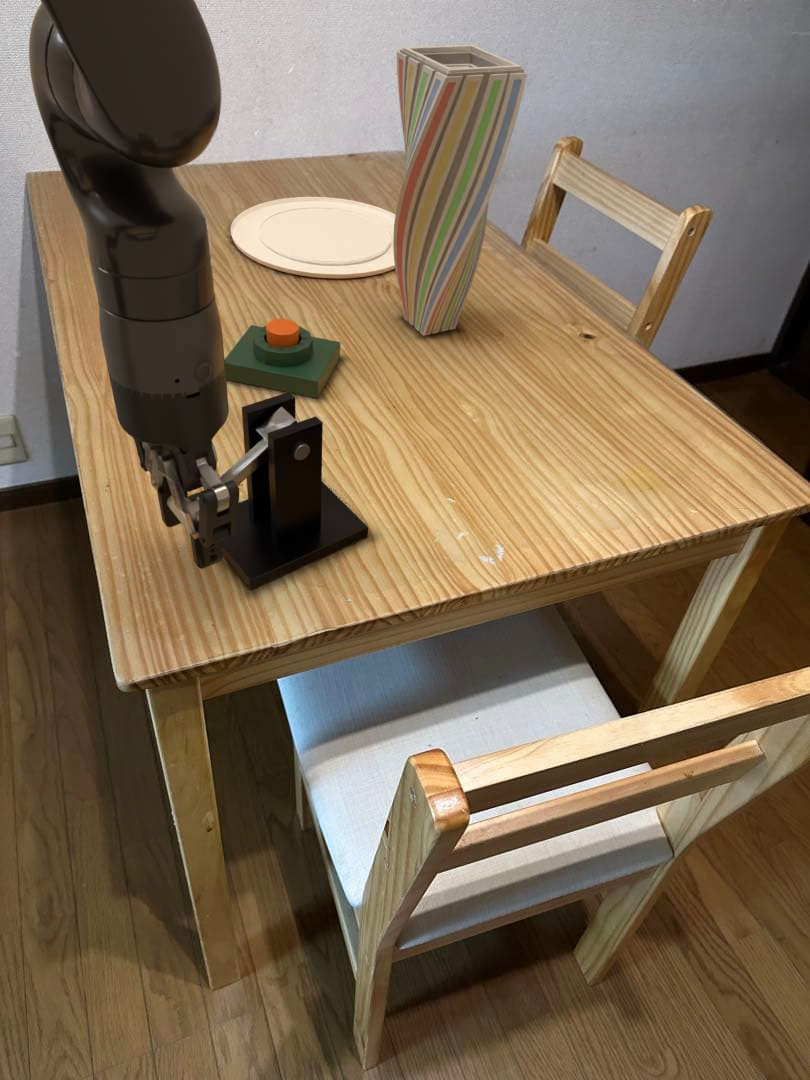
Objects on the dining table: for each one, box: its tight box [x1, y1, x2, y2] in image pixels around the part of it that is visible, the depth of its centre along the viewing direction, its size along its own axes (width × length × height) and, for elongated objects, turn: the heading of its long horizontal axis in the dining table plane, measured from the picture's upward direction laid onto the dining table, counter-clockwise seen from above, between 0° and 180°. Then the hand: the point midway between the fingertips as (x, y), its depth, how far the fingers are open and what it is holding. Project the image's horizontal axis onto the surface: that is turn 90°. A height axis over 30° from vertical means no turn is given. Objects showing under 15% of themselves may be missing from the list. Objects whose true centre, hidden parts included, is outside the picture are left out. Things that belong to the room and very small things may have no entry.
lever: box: [167, 407, 299, 533], centre depth 61 cm, size 12×5×2 cm, turn 128°
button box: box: [224, 324, 341, 399], centre depth 87 cm, size 11×9×4 cm
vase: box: [393, 44, 528, 336], centre depth 89 cm, size 14×14×30 cm
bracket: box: [222, 392, 369, 590], centre depth 65 cm, size 12×9×13 cm
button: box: [265, 318, 300, 347], centre depth 85 cm, size 4×4×2 cm
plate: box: [229, 196, 396, 279], centre depth 115 cm, size 28×28×1 cm
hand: (192, 541), depth 62 cm, fingers closed on lever, 5 cm apart
